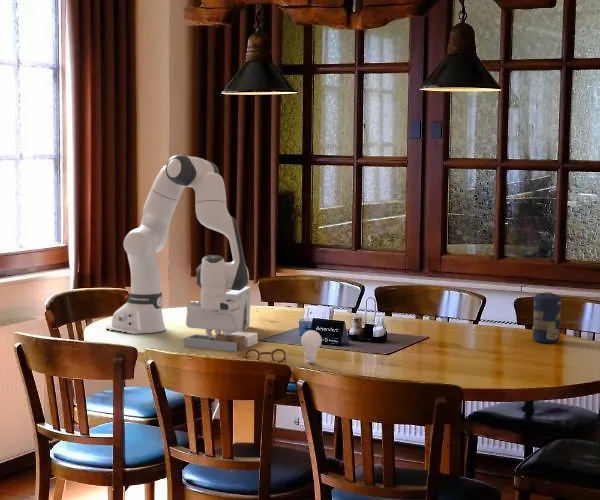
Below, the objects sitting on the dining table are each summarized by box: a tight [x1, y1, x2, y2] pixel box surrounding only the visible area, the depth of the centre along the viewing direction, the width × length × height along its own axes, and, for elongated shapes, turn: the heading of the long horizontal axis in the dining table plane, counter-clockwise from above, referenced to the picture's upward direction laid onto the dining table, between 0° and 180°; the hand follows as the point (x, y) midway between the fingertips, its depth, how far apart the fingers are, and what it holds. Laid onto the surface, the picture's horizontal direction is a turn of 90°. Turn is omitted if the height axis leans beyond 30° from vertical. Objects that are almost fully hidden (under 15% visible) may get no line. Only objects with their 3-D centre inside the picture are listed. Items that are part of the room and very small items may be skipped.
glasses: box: [244, 348, 287, 364], centre depth 327 cm, size 13×13×5 cm
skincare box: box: [222, 285, 252, 334], centre depth 384 cm, size 21×6×16 cm, turn 168°
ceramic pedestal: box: [231, 331, 259, 348], centre depth 362 cm, size 8×8×4 cm
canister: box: [532, 291, 562, 344], centre depth 369 cm, size 10×10×18 cm
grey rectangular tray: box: [183, 333, 247, 353], centre depth 357 cm, size 20×8×3 cm, turn 67°
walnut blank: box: [216, 333, 246, 352], centre depth 354 cm, size 9×4×4 cm, turn 68°
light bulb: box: [300, 329, 323, 365], centre depth 331 cm, size 7×7×11 cm
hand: (213, 342), depth 357 cm, fingers closed
